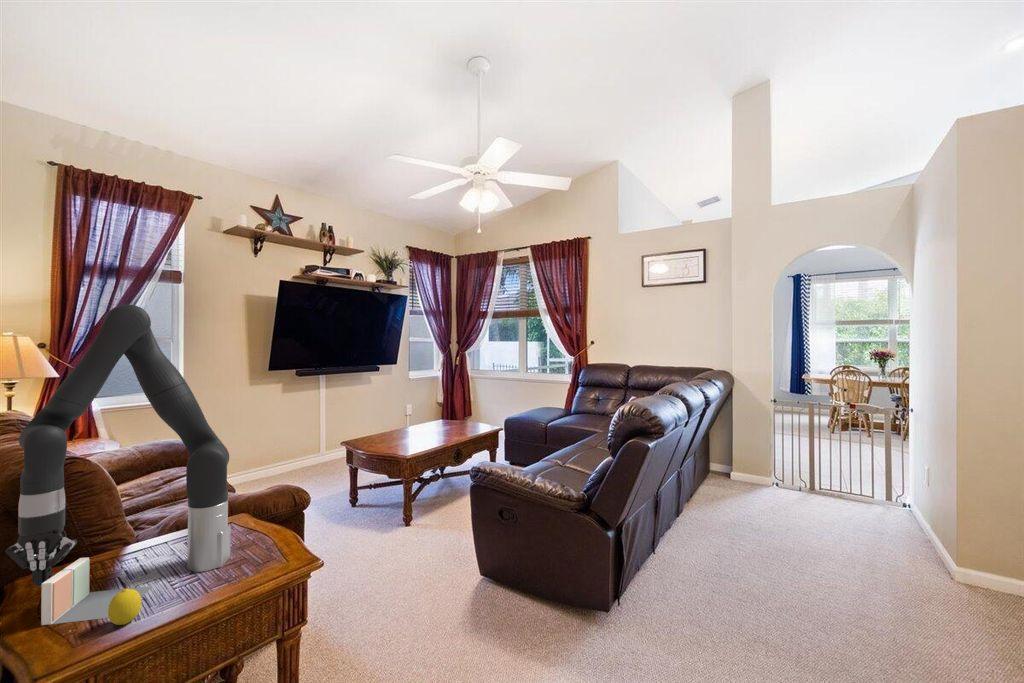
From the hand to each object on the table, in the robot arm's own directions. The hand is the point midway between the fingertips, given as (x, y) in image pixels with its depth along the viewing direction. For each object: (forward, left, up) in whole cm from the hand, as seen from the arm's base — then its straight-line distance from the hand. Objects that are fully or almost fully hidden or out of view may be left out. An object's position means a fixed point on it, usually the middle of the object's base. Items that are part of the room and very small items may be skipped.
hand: (41, 583), depth 103 cm
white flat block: (-7, 0, -5) cm, 8 cm away
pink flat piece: (-7, +6, -5) cm, 10 cm away
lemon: (-23, +12, -6) cm, 26 cm away
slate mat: (-13, +3, -6) cm, 15 cm away
